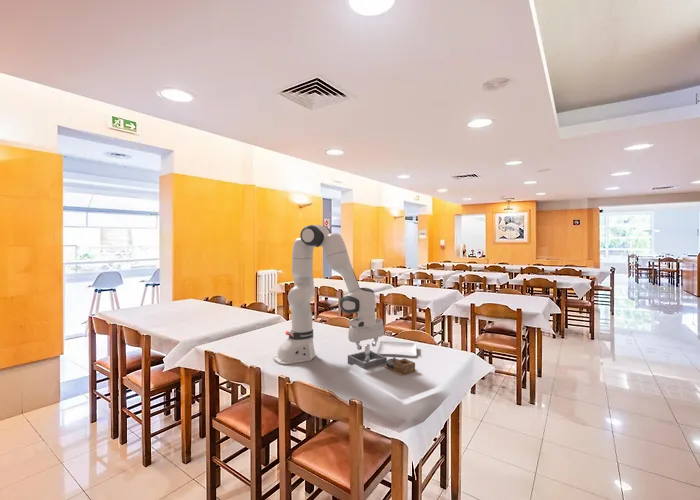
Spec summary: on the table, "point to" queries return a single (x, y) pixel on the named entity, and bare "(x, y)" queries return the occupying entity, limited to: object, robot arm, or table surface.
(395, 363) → the pulley bracket
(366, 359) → the lock pin
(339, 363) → the table surface
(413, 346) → the salad plate
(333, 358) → the table surface
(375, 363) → the tray
